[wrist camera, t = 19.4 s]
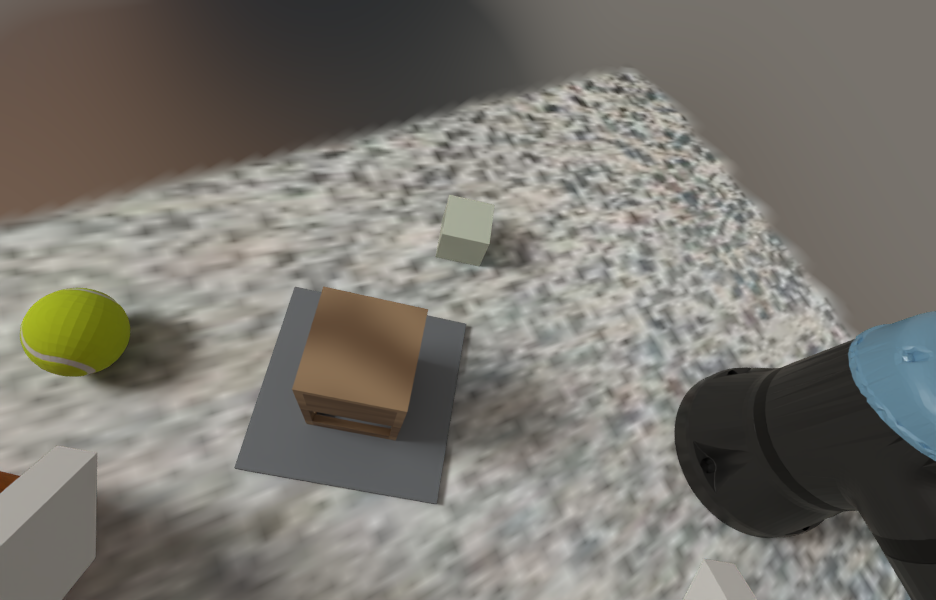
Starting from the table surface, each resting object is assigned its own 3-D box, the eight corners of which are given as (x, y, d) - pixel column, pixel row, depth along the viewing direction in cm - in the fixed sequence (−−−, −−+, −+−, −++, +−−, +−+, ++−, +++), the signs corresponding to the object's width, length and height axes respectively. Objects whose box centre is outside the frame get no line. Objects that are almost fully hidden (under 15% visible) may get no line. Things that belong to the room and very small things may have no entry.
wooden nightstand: (395, 440, 44) (407, 411, 34) (306, 423, 43) (291, 389, 33) (412, 357, 47) (428, 309, 37) (330, 340, 46) (323, 286, 36)
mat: (435, 504, 43) (436, 503, 42) (235, 468, 41) (234, 467, 40) (465, 325, 50) (466, 323, 49) (295, 289, 48) (294, 286, 47)
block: (479, 266, 53) (489, 244, 49) (435, 257, 52) (442, 233, 48) (484, 229, 55) (494, 204, 51) (442, 220, 54) (449, 194, 50)
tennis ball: (34, 380, 41) (-21, 352, 35) (69, 302, 44) (24, 265, 38) (125, 392, 42) (87, 367, 36) (155, 315, 45) (124, 280, 39)
